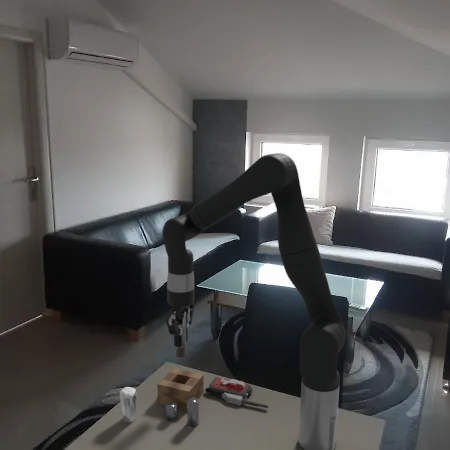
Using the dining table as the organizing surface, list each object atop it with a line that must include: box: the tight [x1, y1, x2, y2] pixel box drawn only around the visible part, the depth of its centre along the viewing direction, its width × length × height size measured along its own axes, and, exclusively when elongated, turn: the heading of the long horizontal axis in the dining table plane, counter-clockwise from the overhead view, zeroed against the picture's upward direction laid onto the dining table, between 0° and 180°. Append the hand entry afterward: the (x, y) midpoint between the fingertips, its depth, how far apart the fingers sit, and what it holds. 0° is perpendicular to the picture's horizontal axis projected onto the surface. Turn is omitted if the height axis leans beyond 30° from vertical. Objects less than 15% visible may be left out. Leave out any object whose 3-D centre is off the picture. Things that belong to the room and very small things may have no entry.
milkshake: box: [119, 386, 138, 424], centre depth 132 cm, size 5×5×10 cm
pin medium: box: [186, 398, 199, 428], centre depth 131 cm, size 3×3×7 cm
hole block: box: [157, 367, 205, 411], centre depth 143 cm, size 10×10×6 cm
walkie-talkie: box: [204, 376, 269, 409], centre depth 144 cm, size 9×4×20 cm
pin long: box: [175, 317, 187, 358], centre depth 139 cm, size 3×3×12 cm
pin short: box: [165, 402, 178, 423], centre depth 133 cm, size 3×3×4 cm
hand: (180, 343), depth 140 cm, fingers closed on pin long, 3 cm apart
